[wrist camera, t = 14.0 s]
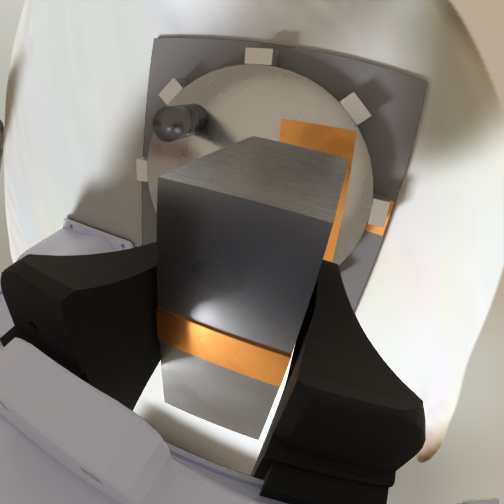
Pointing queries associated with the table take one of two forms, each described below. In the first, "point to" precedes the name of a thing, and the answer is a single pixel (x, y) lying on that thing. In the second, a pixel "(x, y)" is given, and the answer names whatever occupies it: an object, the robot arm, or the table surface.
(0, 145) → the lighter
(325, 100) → the sprocket
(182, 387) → the orange striped gray block
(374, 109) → the base plate
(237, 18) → the table surface
